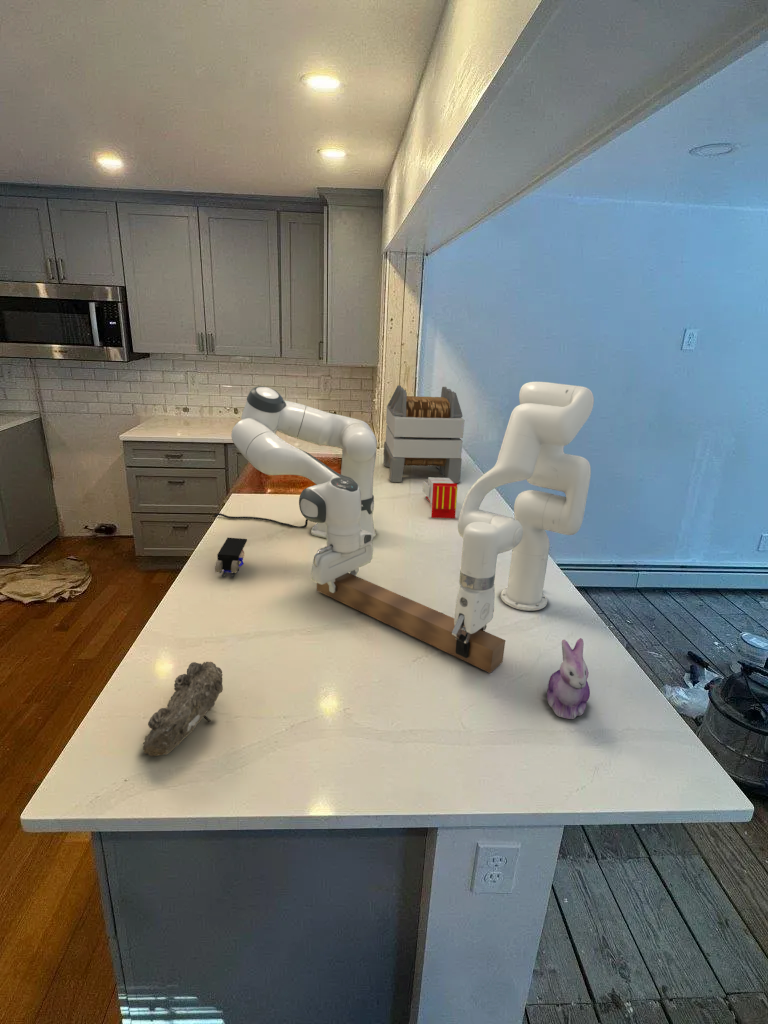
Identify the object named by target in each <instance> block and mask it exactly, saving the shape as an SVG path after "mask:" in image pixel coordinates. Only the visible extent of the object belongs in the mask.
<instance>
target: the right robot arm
mask: <svg viewBox="0 0 768 1024" xmlns="http://www.w3.org/2000/svg"><path fill="white" fill-rule="evenodd" d="M518 394H519V395H518V400H519V404H518V405H516V406H515V407H514V408H513V409H512V411H511V414H510V416H509V420H508V423H507V426H506V429H505V432H504V436H503V439H502V443H501V446H500V449H499V451H498V456H497V459H496V463H495V465H494V466H493V467H491V468H490V469H489V470H488V471H486V472H484V473H483V474H482V475H481V476H480V477H479V478H478V479H476V481H475V482H474V483H473V484H472V485H471V487H469V490H468V491H467V493H466V495H465V497H464V501H463V502H462V503H463V504H462V506H461V510H460V513H459V516H458V521H457V531H458V534H459V536H460V538H462V548H461V558H460V570H459V580H458V584H459V588H458V593H457V598H456V602H455V608H454V617H453V618H454V625H455V627H454V629H453V631H452V635H453V636H454V637H455V639H456V640H457V641H456V651H455V652H456V654H458V655H460V656H462V657H465V658H468V657H469V649H470V642H468V641H469V638H470V634H473V633H475V632H477V631H478V630H479V629H480V630H483V631H486V629H487V624H488V623H490V622H491V621H492V620H493V619H494V614H495V612H494V611H495V601H496V600H495V598H496V597H495V596H496V587H495V586H496V585H495V579H496V569H497V563H498V555H499V554H503V553H506V552H510V551H511V558H510V565H509V572H508V573H509V574H508V581H507V586H506V587H505V588H503V589H502V590H501V592H500V599H501V601H502V602H503V603H504V604H506V605H507V606H509V607H511V608H513V609H516V610H521V611H528V612H532V611H533V612H534V611H539V610H542V609H544V608H545V607H546V606H547V605H548V597H547V596H546V594H544V586H545V579H546V574H547V573H546V572H547V567H548V559H549V555H550V554H549V553H550V547H551V546H550V545H551V544H550V537H549V535H548V533H547V531H548V532H551V533H555V534H560V535H565V536H574V535H576V534H577V533H578V532H579V531H580V529H581V528H582V526H583V521H584V516H585V512H586V511H585V510H586V507H587V506H586V505H587V500H588V494H589V488H590V482H591V476H592V467H591V464H590V461H589V460H588V459H587V458H586V457H584V456H582V455H581V456H580V455H575V454H569V453H565V451H564V447H566V446H568V445H569V444H570V443H572V441H573V440H574V439H575V438H576V436H577V435H578V433H579V432H580V431H581V429H582V428H583V426H584V425H585V424H586V422H587V421H588V420H589V418H590V416H591V414H592V412H593V409H594V402H595V398H594V394H593V392H592V390H591V389H590V388H588V387H586V386H583V385H575V384H574V385H573V384H564V383H557V382H550V381H549V382H548V381H529V382H526V383H523V385H522V386H521V387H520V389H519V393H518ZM522 481H527V483H528V484H530V485H532V486H535V487H537V488H542V489H547V490H552V491H556V492H561V493H564V494H565V496H564V495H560V494H554V493H551V492H547V491H541V490H536V489H526V490H523V491H521V492H520V493H518V494H517V496H516V498H515V500H514V504H513V516H514V518H513V517H512V516H507V515H504V514H503V515H502V514H499V513H496V512H491V511H486V510H484V509H480V507H481V504H482V503H483V500H484V499H485V497H486V496H487V495H488V494H489V493H490V492H491V491H493V490H495V489H496V488H498V487H501V486H503V485H508V484H512V483H517V482H522ZM463 625H465V627H464V626H463ZM462 630H463V631H465V632H466V636H464V635H463V634H461V632H462Z"/></svg>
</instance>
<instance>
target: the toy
mask: <svg viewBox="0 0 768 1024" xmlns="http://www.w3.org/2000/svg"><path fill="white" fill-rule="evenodd" d="M422 493H424V494H425V498H426V500H427V501H428V502H429V504H430V506H431V517H430V518H432V519H456V514H457V513H456V512H457V498H458V483H453V482H452V481H451V480H450V479H449V478H444V477H431V476H430V477H429V476H428V477H427V482H426V481H425V480H423V484H422Z"/></svg>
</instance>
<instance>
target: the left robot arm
mask: <svg viewBox="0 0 768 1024" xmlns="http://www.w3.org/2000/svg"><path fill="white" fill-rule="evenodd" d="M240 417H241V419H240V420H239V421H237V422H236V423H235V425H234V426H233V427H232V430H231V434H230V436H231V440H232V442H233V444H234V446H235V447H236V449H237V450H238V452H239V453H240V454H241V456H243V458H244V459H246V461H247V462H248V463H249V464H250V465H251V466H252V467H253V468H254V469H255V470H257V471H259V472H261V473H263V474H264V475H268V476H300V477H303V478H305V479H308V480H309V481H311V482H312V483H313V484H314V485H311V486H308V487H306V488H304V489H303V490H302V491H301V492H300V494H299V497H298V498H299V499H298V508H299V511H300V514H301V515H302V516H303V518H305V521H304V525H301V526H299V525H294V524H290V523H286V522H281V521H279V520H276V519H275V520H274V519H271V518H265V517H257V516H229V515H226V514H224V513H221V512H219V513H215V514H214V515H213V518H216V517H217V516H220V517H223V518H226V519H231V520H260V521H264V522H271V523H274V524H278V525H280V526H285V527H290V528H296V529H305V528H307V527H308V521H309V522H312V523H315V524H314V525H313V526H312V528H311V530H310V533H311V536H315V537H319V538H323V539H326V545H325V546H324V547H322V548H319V549H318V550H317V552H315V554H314V555H313V559H312V564H311V573H310V574H311V576H310V577H311V580H312V581H313V582H314V583H316V584H317V583H318V584H321V585H323V584H325V583H328V585H329V591H330V592H332V593H334V592H336V591H338V589H337V588H338V586H337V585H335V584H334V582H335V579H336V578H338V577H340V576H342V575H344V574H346V573H350V574H352V575H354V576H357V577H358V573H359V571H360V568H361V567H364V566H366V565H368V564H370V563H371V562H372V560H373V557H374V556H373V555H374V543H373V540H374V538H375V537H376V535H377V532H376V528H375V523H374V513H373V512H374V509H375V496H374V476H375V475H374V474H375V466H376V460H377V447H378V441H377V437H376V434H375V433H374V432H373V430H372V428H371V426H370V425H369V424H368V423H367V422H366V421H364V420H362V419H358V418H354V417H349V416H345V415H341V414H336V413H331V412H328V411H325V410H321V409H318V408H315V407H312V406H309V405H306V404H302V403H299V402H294V401H289V400H284V398H283V396H282V395H281V394H280V393H279V392H278V391H277V390H275V389H274V388H271V387H268V386H265V385H258V386H255V387H253V388H251V389H250V391H249V392H248V395H247V396H246V403H245V404H244V407H243V410H242V413H241V416H240ZM277 432H279V433H280V434H284V435H286V436H288V437H290V438H294V439H297V440H300V441H303V442H307V443H311V444H313V445H317V446H320V447H323V446H325V447H332V448H337V449H341V451H342V453H341V466H340V467H341V468H340V473H339V472H337V471H335V470H334V469H332V468H331V466H328V465H327V464H325V463H324V462H322V461H321V460H320V459H318V458H317V457H315V456H314V455H312V454H310V453H309V452H307V451H305V450H303V449H301V448H300V447H299V448H298V447H296V446H294V445H292V444H290V443H289V442H287V441H286V440H284V439H283V438H281V437H280V436H278V434H277Z"/></svg>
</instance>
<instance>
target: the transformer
mask: <svg viewBox="0 0 768 1024" xmlns="http://www.w3.org/2000/svg"><path fill="white" fill-rule="evenodd" d="M440 393H441V394H440V396H415V395H414V396H413V395H412V396H411V395H407V394H408V393H407V390H406V389H404V388H403V387H402V385H399V384H398V385H397V386H396V388H395V390H394V392H393V394H392V395H391V398H390V400H389V402H388V404H387V405H386V413H385V414H386V415H385V423H386V428H385V438H384V442H383V466H384V467H388V468H389V475H388V476H389V477H388V478H389V480H390V482H391V483H402V482H403V475H404V469H405V466H406V467H407V466H411V467H412V466H413V467H415V466H416V467H417V466H418V467H436V468H437V470H438V469H439V473H440V474H441V475H443V478H449V479H450V480H451V481H452V482H453V483H454V484H459V483H461V472H462V461H463V460H462V453H463V442H464V441H463V440H462V439H463V438H464V431H465V430H464V429H465V419H464V418H463V411H462V408H461V405H460V402H459V398H458V395H457V392H455V391H453V390H452V389H451V388H447V386H442V387H441V392H440Z"/></svg>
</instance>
